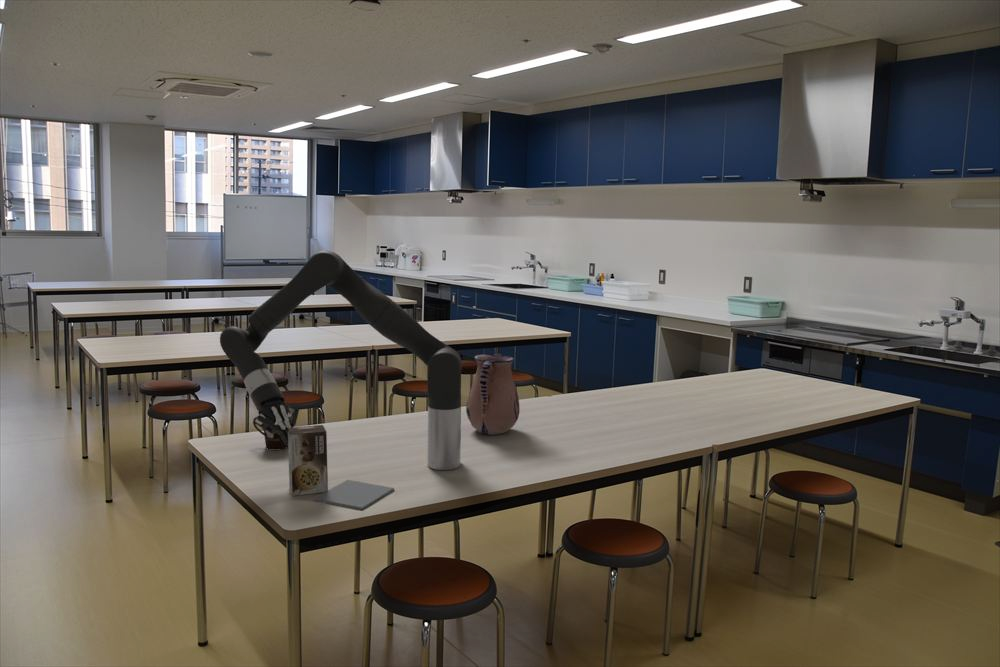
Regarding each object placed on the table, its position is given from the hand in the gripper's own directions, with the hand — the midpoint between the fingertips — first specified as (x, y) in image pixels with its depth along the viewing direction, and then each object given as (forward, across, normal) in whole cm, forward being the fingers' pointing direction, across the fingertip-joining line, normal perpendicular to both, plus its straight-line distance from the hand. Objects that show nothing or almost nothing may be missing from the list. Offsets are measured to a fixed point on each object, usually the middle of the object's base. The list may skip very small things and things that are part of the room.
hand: (291, 443), depth 201 cm
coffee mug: (-15, +16, +30) cm, 37 cm away
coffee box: (+13, 0, +3) cm, 13 cm away
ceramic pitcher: (+12, +73, +4) cm, 74 cm away
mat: (+21, +6, -5) cm, 22 cm away
